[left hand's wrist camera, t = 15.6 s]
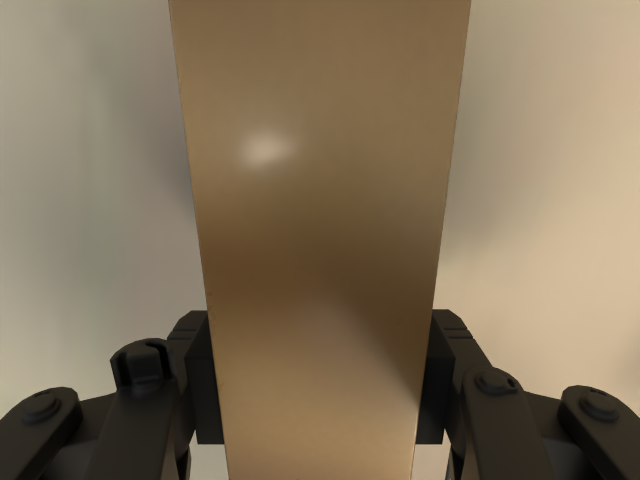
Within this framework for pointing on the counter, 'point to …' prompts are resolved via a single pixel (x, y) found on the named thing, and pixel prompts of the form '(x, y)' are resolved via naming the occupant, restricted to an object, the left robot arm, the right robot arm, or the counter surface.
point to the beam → (319, 219)
